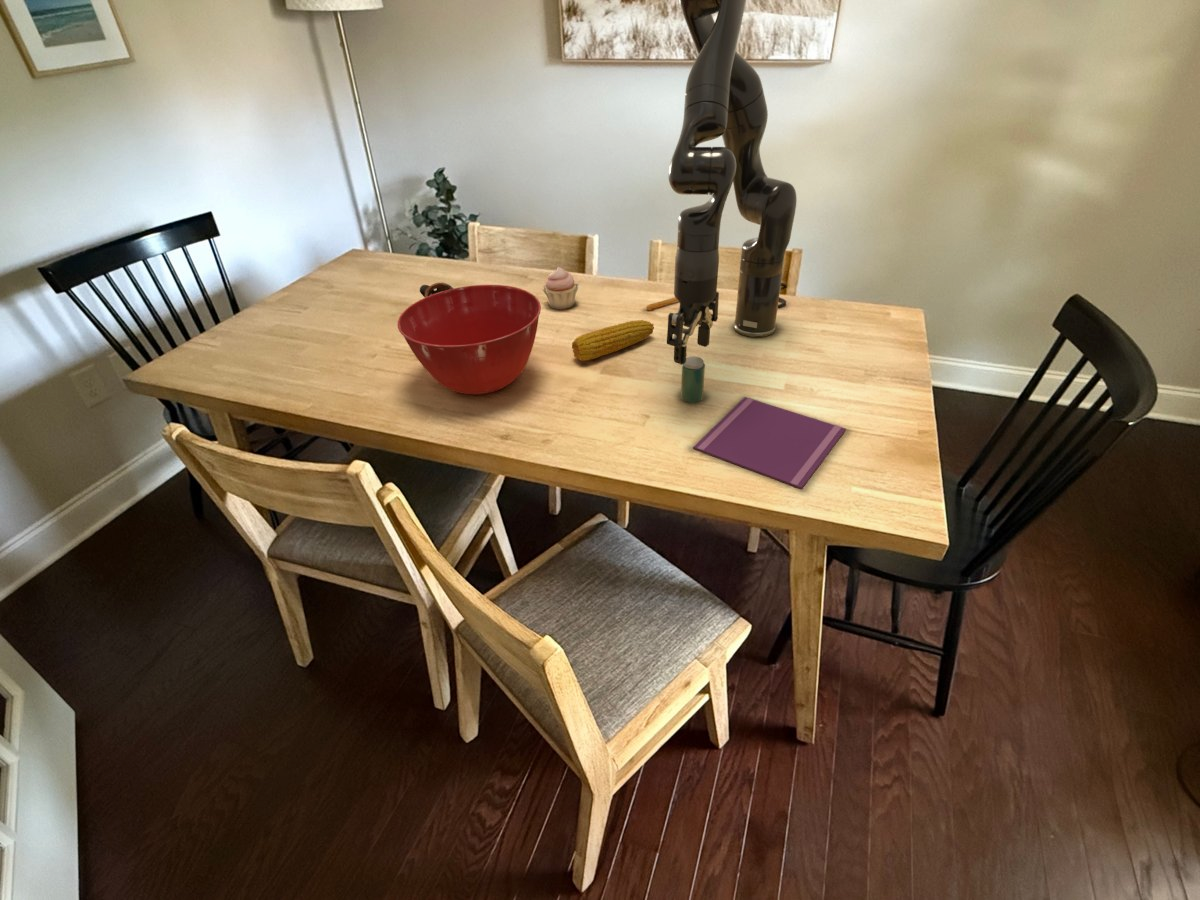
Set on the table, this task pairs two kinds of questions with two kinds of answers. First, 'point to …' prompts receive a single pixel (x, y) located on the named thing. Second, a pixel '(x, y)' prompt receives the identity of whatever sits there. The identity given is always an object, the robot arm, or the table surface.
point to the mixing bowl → (473, 335)
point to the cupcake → (560, 289)
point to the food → (610, 339)
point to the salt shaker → (692, 379)
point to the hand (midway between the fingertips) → (691, 353)
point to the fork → (661, 303)
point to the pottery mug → (429, 290)
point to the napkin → (771, 441)
